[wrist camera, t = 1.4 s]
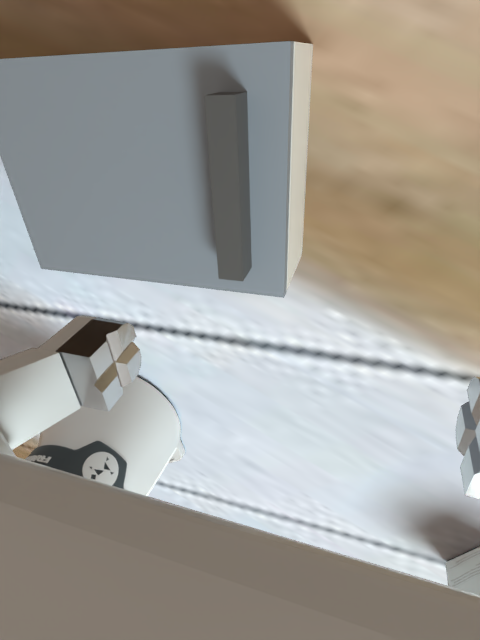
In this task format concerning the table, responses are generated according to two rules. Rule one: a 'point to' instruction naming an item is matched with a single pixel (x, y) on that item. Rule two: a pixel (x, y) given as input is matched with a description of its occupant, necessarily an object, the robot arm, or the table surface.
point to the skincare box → (465, 572)
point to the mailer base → (298, 152)
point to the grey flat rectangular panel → (155, 162)
